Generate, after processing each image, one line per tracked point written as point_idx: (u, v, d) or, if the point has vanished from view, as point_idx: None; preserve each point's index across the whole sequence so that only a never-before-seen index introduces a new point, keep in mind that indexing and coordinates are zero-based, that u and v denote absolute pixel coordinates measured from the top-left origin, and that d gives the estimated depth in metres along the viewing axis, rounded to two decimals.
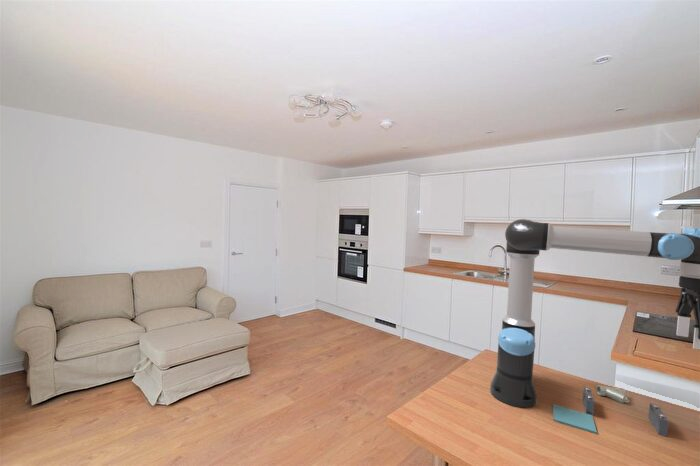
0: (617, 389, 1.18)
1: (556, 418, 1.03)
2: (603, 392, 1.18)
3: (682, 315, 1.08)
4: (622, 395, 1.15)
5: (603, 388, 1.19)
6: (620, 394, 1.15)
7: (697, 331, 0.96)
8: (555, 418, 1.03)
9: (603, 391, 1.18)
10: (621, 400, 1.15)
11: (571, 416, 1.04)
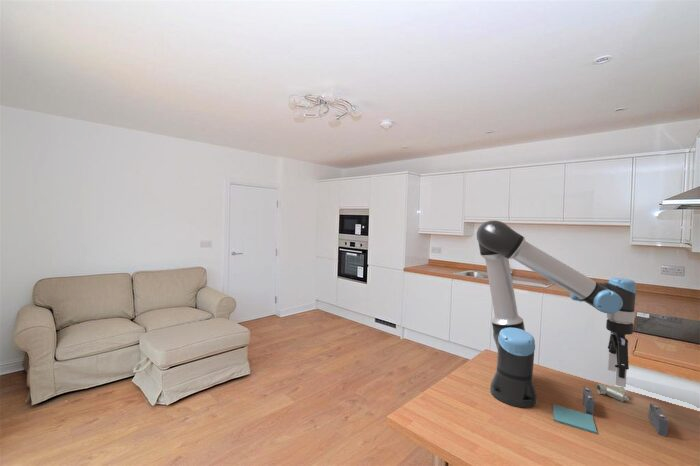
0: (617, 388, 1.19)
1: (556, 418, 1.03)
2: (603, 391, 1.19)
3: (612, 352, 1.23)
4: (622, 394, 1.16)
5: (603, 387, 1.20)
6: (620, 393, 1.16)
7: (618, 370, 1.11)
8: (555, 418, 1.03)
9: (603, 390, 1.19)
10: (621, 398, 1.16)
11: (571, 416, 1.04)
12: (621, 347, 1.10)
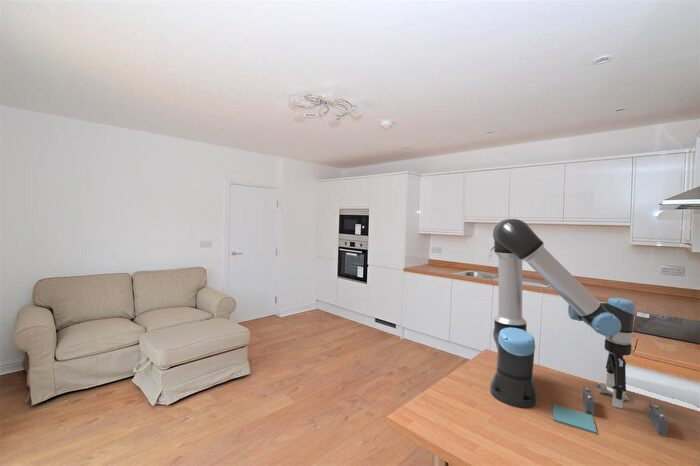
0: None
1: (556, 418, 1.03)
2: (603, 390, 1.20)
3: (610, 372, 1.23)
4: None
5: (603, 386, 1.21)
6: None
7: (615, 391, 1.12)
8: (555, 418, 1.03)
9: (603, 389, 1.20)
10: None
11: (571, 416, 1.04)
12: (619, 369, 1.11)
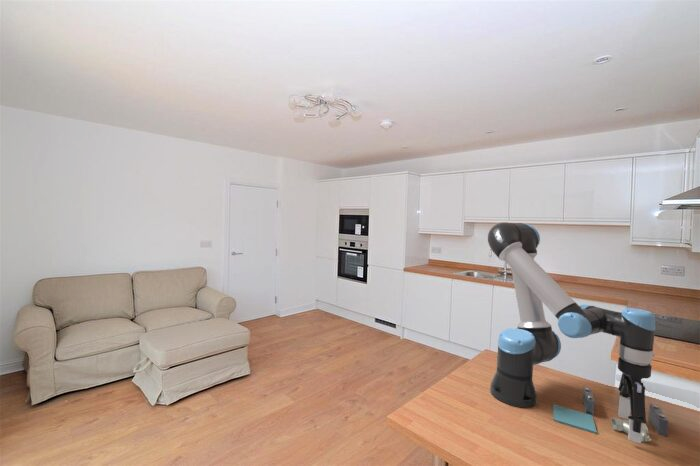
0: None
1: (556, 418, 1.03)
2: (619, 427, 0.98)
3: (624, 395, 1.04)
4: (642, 432, 0.94)
5: (619, 422, 0.99)
6: None
7: (632, 422, 0.92)
8: (555, 418, 1.03)
9: (619, 425, 0.98)
10: (641, 438, 0.94)
11: (571, 416, 1.04)
12: (637, 395, 0.91)
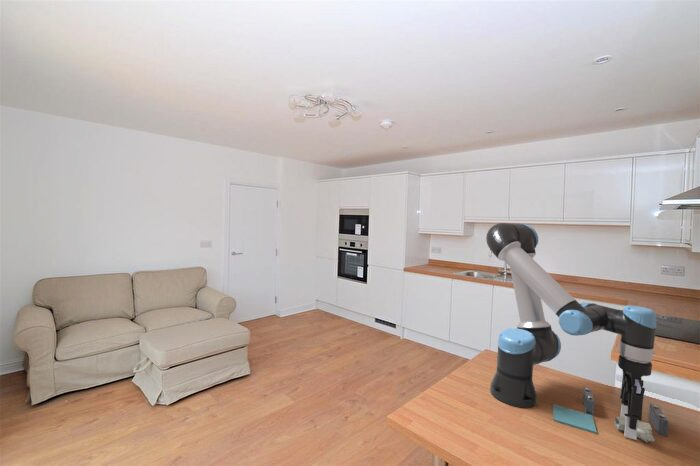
0: (641, 424, 0.97)
1: (556, 418, 1.03)
2: (622, 426, 0.98)
3: (626, 404, 1.01)
4: (646, 432, 0.94)
5: (622, 421, 0.98)
6: (644, 431, 0.94)
7: (628, 419, 0.95)
8: (555, 418, 1.03)
9: (622, 425, 0.97)
10: (644, 438, 0.93)
11: (571, 416, 1.04)
12: (635, 396, 0.92)
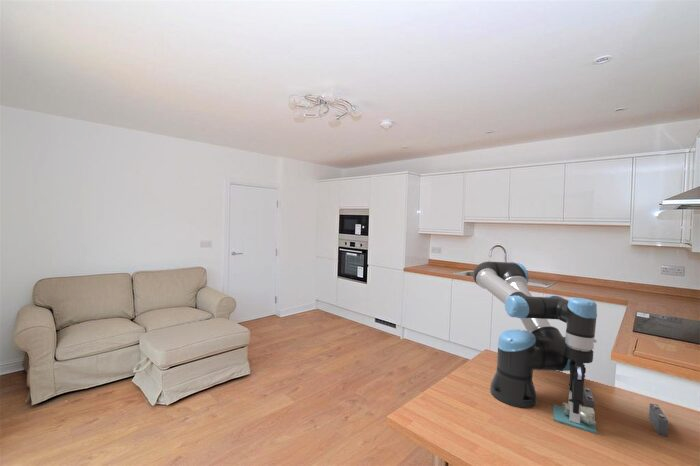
0: (585, 408, 1.03)
1: (556, 418, 1.03)
2: (568, 411, 1.04)
3: None
4: (588, 416, 1.00)
5: (568, 406, 1.04)
6: (586, 415, 1.00)
7: (572, 404, 1.01)
8: (555, 418, 1.03)
9: (568, 410, 1.04)
10: (587, 422, 0.99)
11: None
12: (577, 382, 0.98)
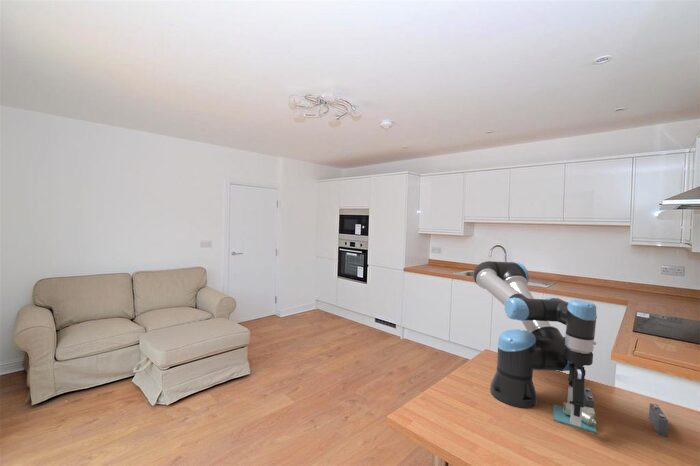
0: (585, 408, 1.03)
1: (556, 418, 1.03)
2: (568, 411, 1.04)
3: (572, 385, 1.09)
4: (588, 416, 1.00)
5: (569, 406, 1.04)
6: (586, 414, 1.00)
7: (573, 407, 0.98)
8: (555, 418, 1.03)
9: (568, 410, 1.04)
10: (587, 421, 1.00)
11: None
12: (577, 381, 0.97)
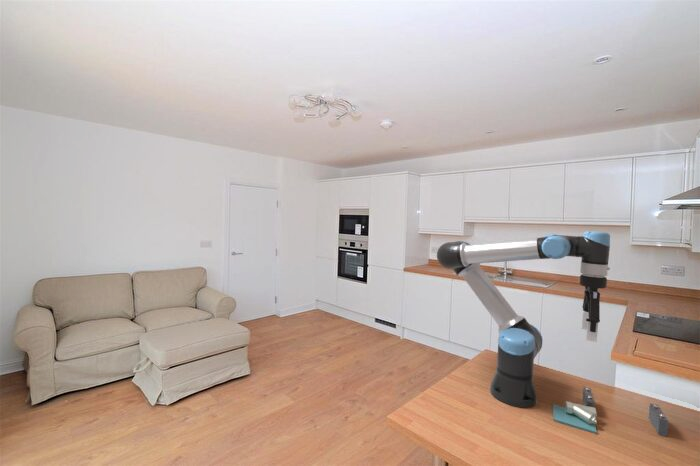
0: (587, 408, 1.04)
1: (556, 418, 1.03)
2: (569, 409, 1.05)
3: (586, 310, 1.19)
4: (589, 415, 1.00)
5: (570, 405, 1.05)
6: (587, 413, 1.01)
7: (589, 324, 1.07)
8: (555, 418, 1.03)
9: (569, 408, 1.05)
10: (587, 420, 1.00)
11: (571, 416, 1.04)
12: (593, 300, 1.06)
